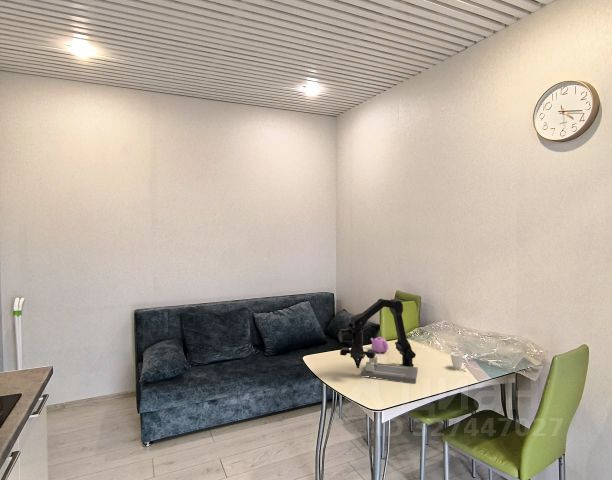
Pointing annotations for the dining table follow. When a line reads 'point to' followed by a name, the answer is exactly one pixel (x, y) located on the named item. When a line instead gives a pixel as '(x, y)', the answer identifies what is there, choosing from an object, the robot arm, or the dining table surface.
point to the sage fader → (370, 366)
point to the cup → (457, 360)
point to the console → (393, 372)
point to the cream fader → (373, 360)
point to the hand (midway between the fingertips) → (358, 368)
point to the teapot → (379, 344)
